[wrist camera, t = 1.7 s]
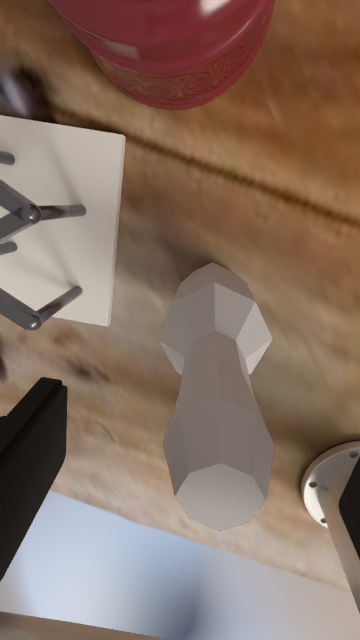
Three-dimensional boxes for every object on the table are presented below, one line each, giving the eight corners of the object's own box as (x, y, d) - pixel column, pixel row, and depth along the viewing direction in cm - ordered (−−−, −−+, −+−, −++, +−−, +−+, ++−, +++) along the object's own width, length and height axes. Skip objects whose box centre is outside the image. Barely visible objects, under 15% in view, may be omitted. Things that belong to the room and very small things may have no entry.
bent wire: (90, 164, 25) (35, 146, 17) (83, 298, 29) (37, 334, 21) (1, 149, 26) (-93, 126, 18) (7, 284, 30) (-68, 316, 22)
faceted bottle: (162, 289, 30) (58, 490, 9) (212, 238, 28) (222, 345, 7) (211, 334, 31) (217, 605, 10) (262, 288, 29) (397, 507, 8)
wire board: (125, 137, 25) (122, 134, 25) (110, 322, 31) (107, 326, 30) (-21, 113, 26) (-30, 110, 25) (-10, 301, 31) (-17, 304, 31)
